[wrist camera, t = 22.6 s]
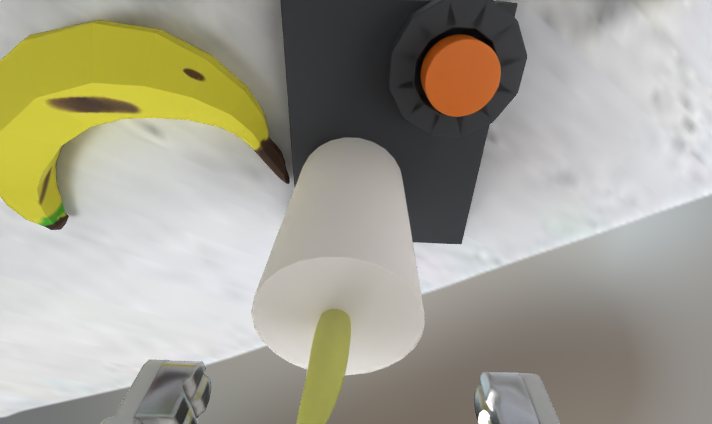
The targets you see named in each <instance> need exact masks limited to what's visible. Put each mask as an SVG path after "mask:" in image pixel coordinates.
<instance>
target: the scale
mask: <svg viewBox="0 0 712 424" xmlns="http://www.w3.org/2000/svg"><path fill="white" fill-rule="evenodd" d="M516 8H517V3H511V2H494V1H493V0H281V12H282V25H283V39H284V52H285V65H286V79H287V92H288V106H289V119H290V132H291V146H292V159H293V173H294V186H296V184H297V181H298V178H299V176H300V173H301V170H302V167H303V166H304V164H305V162H306V160H307V159H308V157H309V156H310V155H311V154H312V153H313V152H314V151H315V150H316V149H317V148H318V147H319V146H321V145H323V144H325V143H327V142H329V141H331V140H335V139H340V138H344V137H347V138H361V139H365V140H368V141H372V142H374V143H376V144H378V145H379V146H381V147H383V148H384V149H386V150H387V151H388V152H389V154H390V155H391V156H392V157H393V158H394V159H395V161H396V162H397V164H398V166H399V168H400V170H401V175H402V180H403V185H404V192H405V198H406V204H407V210H408V216H409V222H410V229H411V235H412V241H413V242H423V243H446V244H461V243H462V239H463V235H464V231H465V226H466V222H467V218H468V213H469V209H470V205H471V201H472V196H473V192H474V188H475V183H476V179H477V175H478V171H479V166H480V162H481V158H482V153H483V149H484V145H485V141H486V136H487V132H488V128H489V124H490V123H492V122H493V121H494V120H495V119H496V118H497V117H498V116H499V114H500V113H501V112H502V111H503V110H504V109H505V107H506V106H507V105H508V104H509V103H510V101H511V100H512V99H513V98H514V97H515V96H516V94H517V93H518V90H519V86H520V82H521V78H522V75H523V71H524V67H525V63H526V59H527V53H526V50H525V46H524V42H523V39H522V35H521V31H520V28H519V24H518V21H517V20H516V19H515V18H514V16H515V12H516ZM455 34H464V35H469V36H472V37H474V38H476V39H478V40H480V41H482V42H484V43H485V44H487V45H488V46H490V47H491V48H492V49H493V51H494V52H495V53H496V55H497V57H498V59H499V62H500V68H501V77H500V82H499V85H498V88H497V90H496V92H495V94H494V96H493V97H492V99H491V100H490V101H489V102H488V103H487V104H486V105H485V106H484V107H483V108H481V109H480V110H478V111H476V112H475V113H472V114H470V115H466V116H460V117H455V116H448V115H445V114H443V113H441V112H439V111H438V110H437V109H435V108H434V107H433V106H432V104H431V103H430V101H429V99H428V98H427V95H426V93H425V91H424V89H423V87H422V84H421V77H420V73H421V66H422V63H423V60H424V58H425V56H426V54H427V53H428V51H429V50H430V49H431V48H432V46H433V45H434V44H436V43H437V42H438V41H440V40H441V39H443V38H445V37H448V36H451V35H455Z"/></svg>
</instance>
